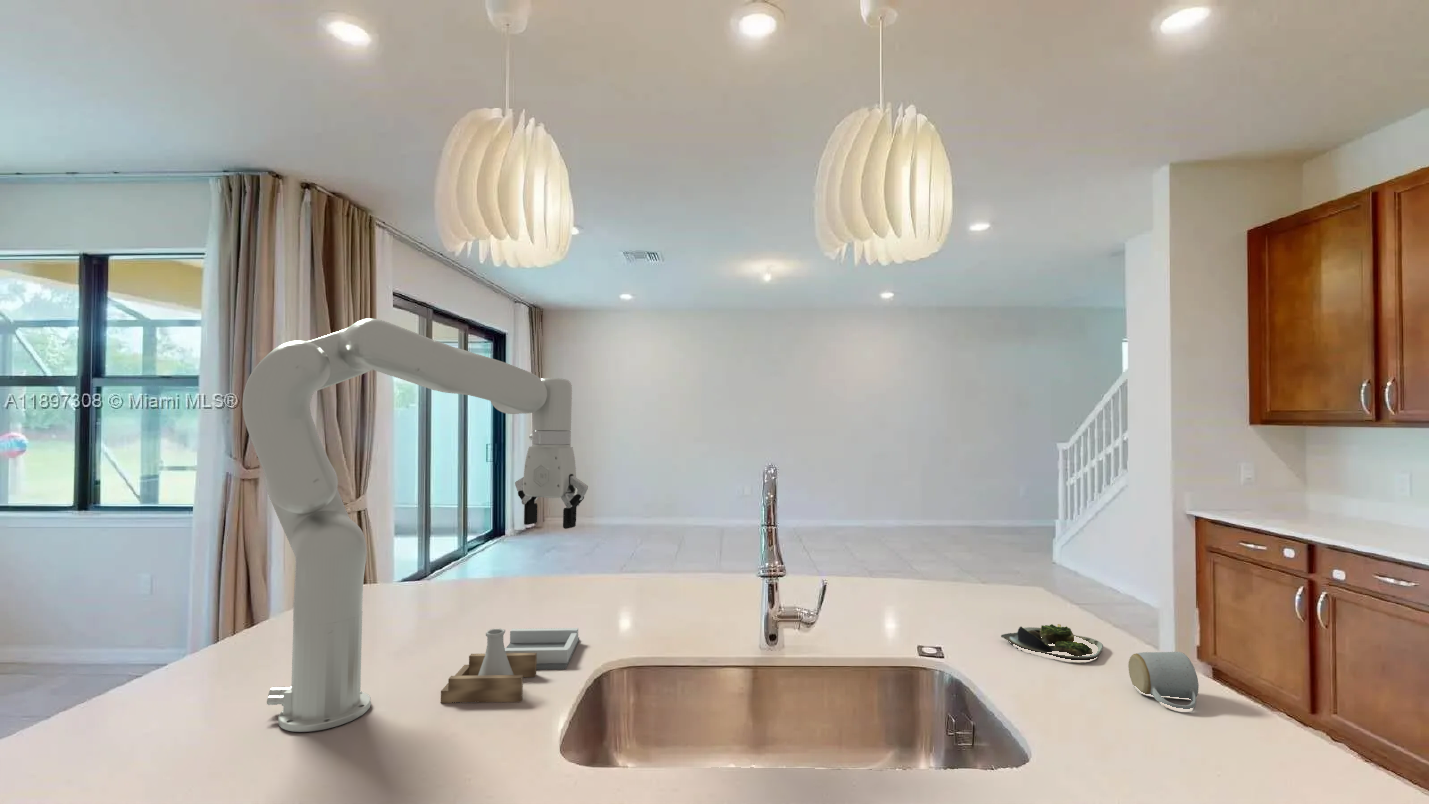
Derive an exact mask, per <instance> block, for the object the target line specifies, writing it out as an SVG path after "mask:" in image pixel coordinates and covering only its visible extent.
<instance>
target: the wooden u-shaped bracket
mask: <svg viewBox="0 0 1429 804" xmlns="http://www.w3.org/2000/svg"><path fill="white" fill-rule="evenodd" d="M506 655H507V658H508V661H509V664H510V667H511V669H512V672H513V674H514V675H478V674H479V671H480V669H481V666H482V663H483V660H484V657H485V653H470V655H468V664H463V666H462V667H461V668H460V669H459V670H458V671H457V672H456V673H455V675H450V676H449V678H448V679H447V680H448V682H447V684H446V685H445V686H444V687H443V688H442V689H441V690H440V704H457V703H456V702H460V703H461V702H462V703H461V704H463V702H464V703H465V702H466V703H465V704H467V702H476V703H519V702H520V703H521V702H522V700H523V697H524V695H523V689H524V688H523V687H524V686H523V685H524V684H523V683H524V682H523V681H524V680H523V678H535V677H536V676H537V670H536V664H537V653H506ZM452 702H453V703H452ZM454 702H455V703H454ZM460 703H459V704H460Z"/></svg>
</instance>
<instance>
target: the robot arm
mask: <svg viewBox="0 0 1429 804" xmlns="http://www.w3.org/2000/svg"><path fill="white" fill-rule="evenodd" d="M372 371H375V372H378V373H381V374H384V375H387V376H391V377H394V378H397V379H399V380H403V381H406V382H409V383H412V384H415V385H417V386H420V387H422V388H426V389H429V390H431V391H432V390H433V391H436V392H441V393H445V394H457V395H463V396H464V395H465V396H471V397H475V398H478V399H483V400H486V401H489V402H490V404H491V405H492V406H493V407H494V408H495V409H496V410H497V411H499V412H500V413H502V414H507V415H519V414H522V415H523V414H526V415H527V414H532V433H530V434H529V440H530V441H531V445H530V446H528V448H527V449H528V450H527V452H526V457H525V463H524V469H523V470H524V471H523V477H521V478H519V479H518V480H516V481H515V482H514V484H515V485H514V486H515V488H516V491H517V496H518V497H519V498H520V500H521V504H522V505H524V506H523V507H524V509H523V510H524V511H523V525H526V526H528V525H534V524H536V523H538V503H536V501H537V500H538V499H539V498H546V499H547V498H548V499H559V498H560V499H561V501H562V502H563V503H564V505H565V507H564V508H563V511H562V514H563V515H562V528H563V529H565V530H567V529H568V530H569V529H572V528H575V527H576V526H577V525H576V524H577V508H578V507H579V506H580V504H581V502H582V501H584V499H585V496H586V494H587V491H588V490H589V489H588V488H589V486H588V485H587V484H586V483H584V482H583V481H581V479H578V477H577V468H576V460H575V459H576V458H575V451H574V447H572V404H573V402H572V400H573V397H572V396H573V385H572V383H571V382H570V381H569V380H568V379H566V378H559V377H558V378H557V377H543V378H542V377H541V378H540V377H539V376H538V375H536V374H534V373H533V372H530V371H527V370H525V369H523V368H520V367H518V366H515V365H513V364H509V363H507V362H505V361H501V360H498V359H495V358H492V357H489V356H485V355H481V354H478V353H474V352H471V351H469V350H465V349H463V348H459V347H455V346H453V345H449V344H446V343H444V342H441V341H439V340H437V339H436V340H435V339H432V338H430V337H427V336H425V335H422V334H419V333H417V332H416V331H415V332H414V331H412V330H409V329H407V328H404V327H401V326H399V325H396V324H394V323H391V322H388V321H385V320H382V319H379V318H372V317H371V318H363V319H360V320H358V321H356V322H354V323H353V324H351V325H350V326H348V327H346V328H344V329H341V330H339V331H335V332H332V333H330V334H327V335H323V336H321V337H318V338H314V339H311V340H291V341H287V342H283V343H282V344H279V345H278V346H277V347H275V348H273V350H271V351H270V352H268V354H266V356H264V357H263V358H262V359H261V360H260V361H259V363H258V364H257V365H256V366H255V367H254V369H252V371H251V373H250V375H249V377H248V378H247V381H246V383H245V387H244V391H243V393H242V415H243V419H244V423H245V427H246V430H247V432H248V435H249V438H250V440H251V444H252V445H253V449H254V452H255V454H256V457H257V459H258V462H259V464H260V466H261V468H262V471H263V473H264V476H265V483H264V485H265V489H266V493H267V495H268V497H269V499H270V502H271V504H272V507H273V509H274V511H275V513H276V515H277V519H278V520H279V523H280V525H281V527H282V530H283V532H284V534H285V537H286V538H287V542H288V543H289V545H290V547H291V550H292V552H293V554H294V557H295V571H294V573H295V574H294V576H295V577H294V590H293V605H292V606H293V607H292V608H293V609H292V610H293V611H292V622H293V623H292V651H291V653H292V654H291V655H292V658H291V659H292V661H291V686H289V687H287V686H273V687H271V688H270V689H269V692H268V697H267V699H266V705H268V706H277V705H281V706H282V710H281V711H280V713H279V714H278V719H277V720H278V721H277V723H278V726H279V727H280V728H281V729H282V730H285V731H289V732H295V733H307V732H317V731H322V730H324V731H325V730H329V729H332V728H335V727H338V726H342V725H345V724H347V723H350V722H353V721H354V720H356V719H358V718H359V717H361V716H363V715H364V714H366V712H367V711H369V709H370V707H371V706H372V705H371V704H372V698H371V696H370V695H369V694H368V693H366V692H364V691H361V685H362V683H361V681H362V676H361V675H362V645H363V644H362V642H363V641H362V640H363V601H364V599H363V597H364V596H363V593H364V581H365V580H364V578H365V571H366V563H367V541H366V537H365V534H364V532H363V530H362V529H361V527H360V526H359V525H358V524H357V523H356V522H355V521H354V520H353V519H351V518H350V517H349V513H348V511H347V509H346V507H345V504H344V502H343V499H342V496H341V494H340V491H339V490H338V487H339V479H338V474H337V472H336V470H335V468H334V466H333V465H332V463H331V461H330V459H329V457H328V454H327V452H326V450H325V448H324V445H323V443H322V440H321V438H320V436H319V433H318V430H317V427H316V424H315V422H314V419H313V416H312V411H311V402H312V398H313V395H314V394H315V393H316V392H317V391H320V390H323V389H326V388H328V387H332V386H335V385H337V384H339V383H340V384H341V383H342V382H345V381H347V380H351V379H353V378H356V377H359V376H362V375H363V374H366V373H370V372H372ZM576 490H577V491H576Z"/></svg>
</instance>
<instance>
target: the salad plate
mask: <svg viewBox="0 0 1429 804" xmlns="http://www.w3.org/2000/svg"><path fill="white" fill-rule="evenodd" d="M1074 636H1076V637H1079V638H1082V639H1083V640H1086V641H1088V642H1089V643H1091V644H1095V645H1096V646H1097V647H1098V651H1097V653H1096V654H1094V655H1090V656H1082V655H1086V654H1092V653H1093V652H1092V649H1091V648H1089V647H1088V646H1087V645H1085V644H1083V643H1077V642H1073V641H1074ZM1041 637H1042V638H1041ZM1000 638H1003V639H1004V640H1006V641H1007V640H1008V641H1007V642H1009V641H1010V642H1011V643H1012V644H1015V645H1017V646H1019V647H1021V648H1024V649H1028V650H1031V651H1035V652H1041V653H1045V654H1049V655H1053V656H1056V657H1060V658H1065V659H1071V660H1090V659H1094V658H1096V657H1097V656H1098V655H1100V654H1101V653H1102V652H1103V651H1102V650H1103V649H1104V644H1103V643H1102V642H1100V641H1099V640H1096V639H1094V638H1092V637H1088V636H1082V635H1076V634H1074V633H1073V630H1072V629H1071V628H1070V627H1068V626H1067V625H1066V626H1062V625H1061V624H1059V623H1058V624H1057V626H1056V625H1054V624H1053V623H1052V624H1049V625H1048V624H1044V625H1041V626H1040V627H1032V626H1031V627H1029V626H1028V627H1023V626H1019V627H1018V629H1017V631H1016V632H1013V633H1012V632H1008V633H1004V634H1001V635H1000ZM1010 642H1009V643H1010ZM1011 643H1010V644H1011ZM1052 643H1053V644H1055V646H1049V645H1048V644H1052ZM1012 644H1011V645H1012ZM1052 651H1059V652H1067V653H1069V654H1071V655H1074V656H1065V655H1058V654H1052V653H1047V652H1052ZM1100 652H1101V653H1100ZM1099 653H1100V654H1099ZM1078 656H1079V657H1078ZM1098 657H1099V656H1098Z"/></svg>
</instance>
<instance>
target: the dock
mask: <svg viewBox="0 0 1429 804" xmlns="http://www.w3.org/2000/svg"><path fill="white" fill-rule="evenodd" d="M579 641H580V637H579V627H556V628H555V627H554V628H552V627H549V628H548V627H547V628H543V627H540V628H539V627H538V628H534V627H533V628H530V627H529V628H511V629H510V630H509V644H508V645H507V646H506V647H504V648H505V652H506V653H537V664H536V671H537V670H539V671H541V670H546V669H547V670H548V671H549V670H566V669H567V667H568V666H569V663H570V661H571V659H572V656H573V655H574V653H575V650H576V648H577V646H578V644H579ZM547 670H546V671H547Z"/></svg>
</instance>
